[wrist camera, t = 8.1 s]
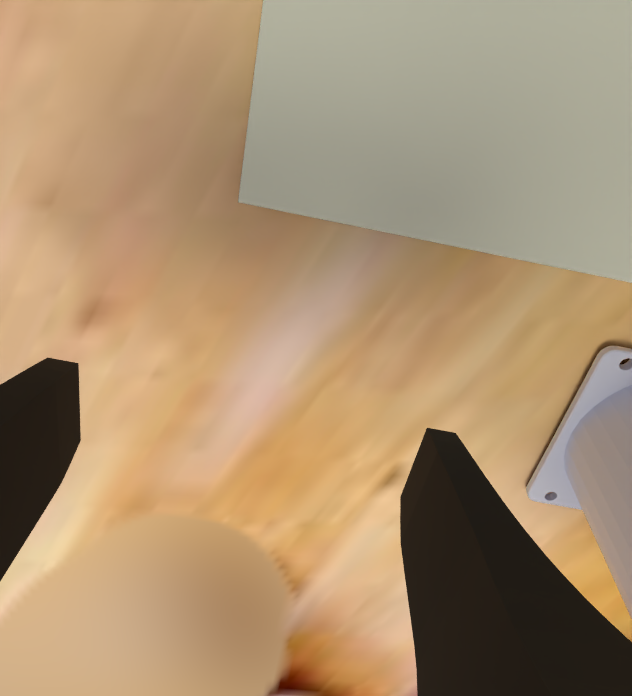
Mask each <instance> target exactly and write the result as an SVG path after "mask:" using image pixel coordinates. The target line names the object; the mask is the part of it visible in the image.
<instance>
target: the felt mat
mask: <svg viewBox="0 0 632 696" xmlns="http://www.w3.org/2000/svg"><path fill="white" fill-rule="evenodd" d="M238 202H239V203H244V204H249V205H254V206H259V207H264V208H269V209H274V210H278V211H283V212H288V213H293V214H298V215H303V216H308V217H313V218H318V219H322V220H327V221H332V222H337V223H342V224H347V225H352V226H357V227H362V228H366V229H371V230H376V231H381V232H386V233H391V234H396V235H401V236H406V237H410V238H415V239H420V240H425V241H430V242H435V243H440V244H445V245H450V246H454V247H459V248H464V249H469V250H474V251H479V252H484V253H489V254H494V255H498V256H503V257H508V258H513V259H518V260H523V261H528V262H533V263H538V264H542V265H547V266H552V267H557V268H562V269H567V270H572V271H577V272H582V273H586V274H591V275H596V276H601V277H606V278H611V279H616V280H621V281H626V282H630V283H632V0H263V7H262V15H261V23H260V31H259V39H258V47H257V55H256V63H255V71H254V79H253V87H252V95H251V103H250V111H249V119H248V127H247V135H246V143H245V151H244V159H243V167H242V175H241V183H240V191H239V199H238Z"/></svg>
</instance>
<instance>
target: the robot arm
mask: <svg viewBox="0 0 632 696" xmlns="http://www.w3.org/2000/svg"><path fill="white" fill-rule="evenodd" d="M627 358H630V359H629V361H628V362H627V363H625V364H620V362H621V361H622V360H624V359H627ZM80 440H81V439H80V404H79V369H78V363H74V362H68V361H63V360H58V359H52V358H46V359H45V360H43V361H41V362H39V363H37V364H35V365H34V366H32V367H30V368H28V369H27V370H25V371H23V372H21V373H20V374H18V375H16V376H15V377H13V378H11V379H9V380H8V381H6V382H4V383H3V384H1V385H0V581H1V579H2V578H3V576H4V574H5V573H6V571H7V570H8V568H9V566H10V565H11V563H12V562H13V560H14V559H15V557H16V555H17V554H18V552H19V551H20V549H21V547H22V546H23V544H24V543H25V541H26V539H27V538H28V536H29V535H30V533H31V531H32V530H33V528H34V527H35V525H36V523H37V522H38V520H39V519H40V517H41V515H42V514H43V512H44V511H45V509H46V507H47V506H48V504H49V502H50V501H51V499H52V498H53V496H54V494H55V493H56V491H57V489H58V488H59V486H60V484H61V483H62V480H63V478H64V476H65V474H66V472H67V470H68V468H69V465H70V463H71V461H72V459H73V456H74V454H75V452H76V450H77V447H78V445H79V443H80ZM526 492H527V494H528V497H529V498H530V499H531V500H532V501H536V502H541V503H547V504H552V505H558V506H563V507H569V508H575V509H580V510H583V512H584V514H585V517H586V519H587V521H588V523H589V525H590V528H591V530H592V532H593V534H594V537H595V539H596V541H597V543H598V545H599V548H600V550H601V552H602V554H603V556H604V559H605V561H606V563H607V565H608V568H609V570H610V572H611V574H612V576H613V579H614V581H615V583H616V585H617V587H618V590H619V592H620V594H621V596H622V599H623V601H624V603H625V605H626V607H627V610H628V612H629V614H630V616H631V618H632V349H630V348H625V347H620V346H608V347H605V348H604V349H602V350H601V351H600V352H599V353H598V355H597V356H596V358H595V360H594V362H593V364H592V366H591V368H590V369H589V371H588V373H587V375H586V377H585V379H584V381H583V382H582V384H581V386H580V388H579V390H578V392H577V394H576V396H575V397H574V399H573V401H572V403H571V405H570V407H569V409H568V410H567V412H566V414H565V416H564V418H563V420H562V422H561V423H560V425H559V427H558V429H557V431H556V433H555V435H554V437H553V438H552V440H551V442H550V444H549V446H548V448H547V450H546V451H545V453H544V455H543V457H542V459H541V461H540V463H539V464H538V466H537V468H536V470H535V472H534V474H533V476H532V478H531V479H530V481H529V483H528V485H527V487H526ZM549 492H552V493H550V494H547V493H549ZM400 524H401V548H402V556H403V564H404V572H405V579H406V587H407V594H408V601H409V609H410V616H411V624H412V631H413V638H414V646H415V656H416V667H417V690H418V696H632V642H631V641H630V640H629V639H627V638H626V637H625V636H624V635H623V634H622V633H621V632H620V631H619V630H618V629H617V628H616V627H615V626H613V625H612V624H611V623H610V622H609V621H608V620H607V619H606V618H605V617H604V616H603V615H602V614H601V613H600V612H599V611H598V610H597V609H596V608H595V607H594V606H593V605H592V604H591V603H590V602H589V601H587V600H586V598H585V597H584V596H583V595H582V594H581V593H580V592H579V591H578V590H577V589H576V588H575V587H574V586H573V585H572V584H571V583H570V582H569V580H568V579H567V578H566V577H565V576H564V575H563V574H562V573H561V572H560V571H559V570H558V569H557V568H556V566H555V565H554V564H553V563H552V562H551V561H550V560H549V559H548V557H547V556H546V555H545V554H544V553H543V552H542V550H541V549H540V548H539V547H538V545H537V544H536V543H535V542H534V541H533V539H532V538H531V537H530V536H529V534H528V533H527V532H526V531H525V530H524V528H523V527H522V526H521V524H520V523H519V522H518V521H517V519H516V518H515V517H514V515H513V514H512V513H511V511H510V510H509V509H508V507H507V506H506V505H505V503H504V502H503V501H502V499H501V498H500V496H499V495H498V494H497V492H496V491H495V489H494V488H493V487H492V485H491V484H490V482H489V481H488V480H487V478H486V477H485V475H484V474H483V472H482V471H481V469H480V468H479V466H478V465H477V464H476V462H475V461H474V459H473V458H472V456H471V455H470V453H469V452H468V450H467V449H466V447H465V446H464V444H463V443H462V442H461V440H460V439H459V437H458V436H457V434H456V433H452V432H447V431H442V430H436V429H431V428H427V429H426V432H425V434H424V437H423V440H422V442H421V445H420V448H419V450H418V453H417V455H416V458H415V461H414V463H413V466H412V468H411V471H410V474H409V476H408V479H407V482H406V484H405V487H404V489H403V492H402V495H401V515H400Z"/></svg>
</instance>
